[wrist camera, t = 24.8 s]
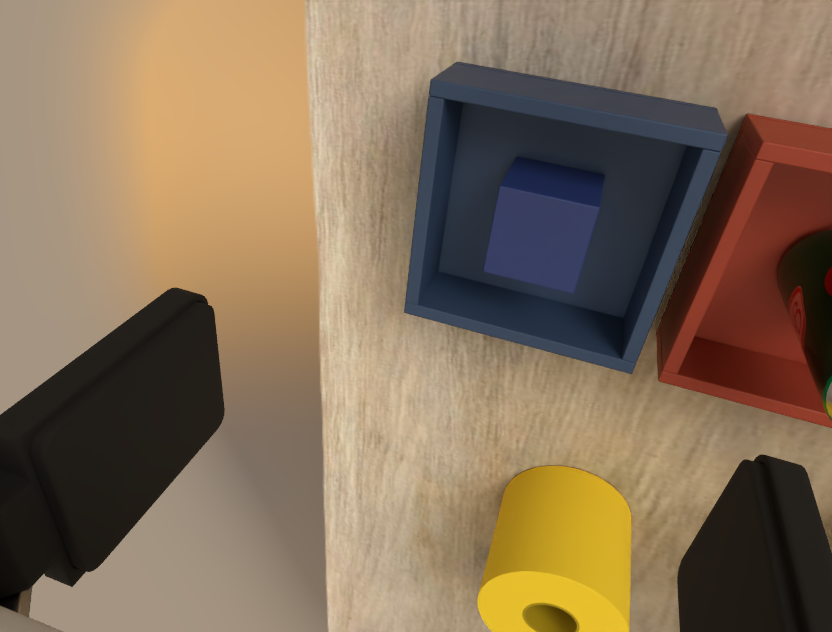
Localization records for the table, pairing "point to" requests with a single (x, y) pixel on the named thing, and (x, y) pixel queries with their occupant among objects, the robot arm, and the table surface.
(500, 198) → the blue block
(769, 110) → the table surface
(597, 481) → the tape roll
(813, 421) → the red bin
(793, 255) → the soda can
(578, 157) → the blue bin
